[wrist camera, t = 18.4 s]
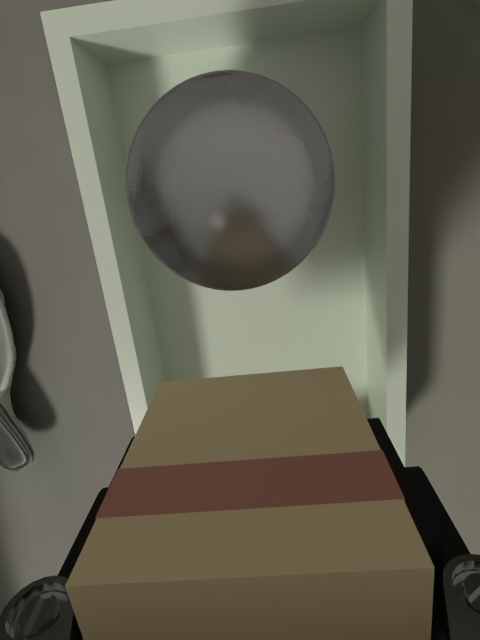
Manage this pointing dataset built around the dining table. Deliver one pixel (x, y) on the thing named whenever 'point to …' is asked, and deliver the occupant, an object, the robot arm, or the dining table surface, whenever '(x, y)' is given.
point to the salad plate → (3, 427)
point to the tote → (345, 218)
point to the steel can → (230, 180)
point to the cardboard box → (254, 521)
